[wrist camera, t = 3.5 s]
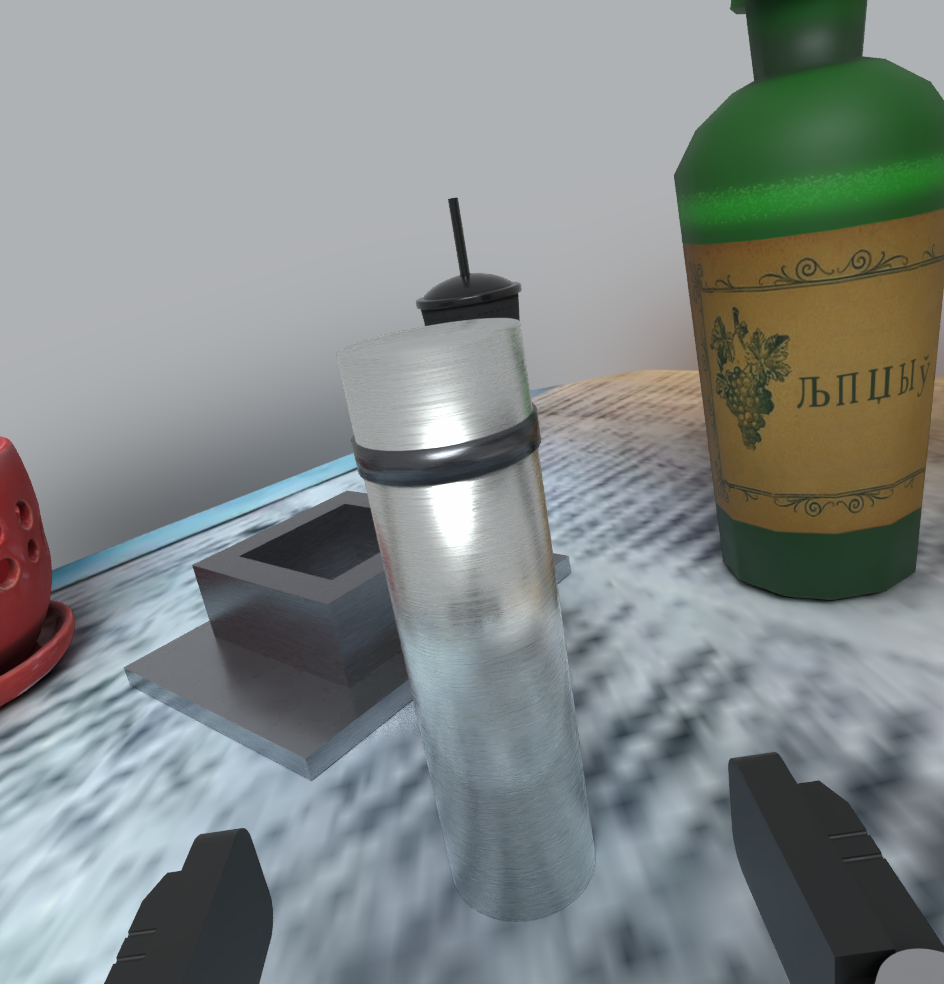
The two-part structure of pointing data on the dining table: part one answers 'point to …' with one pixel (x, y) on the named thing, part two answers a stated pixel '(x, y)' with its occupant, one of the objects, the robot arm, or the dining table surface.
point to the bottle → (817, 301)
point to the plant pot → (26, 585)
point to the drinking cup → (468, 289)
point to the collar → (292, 640)
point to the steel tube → (476, 604)
